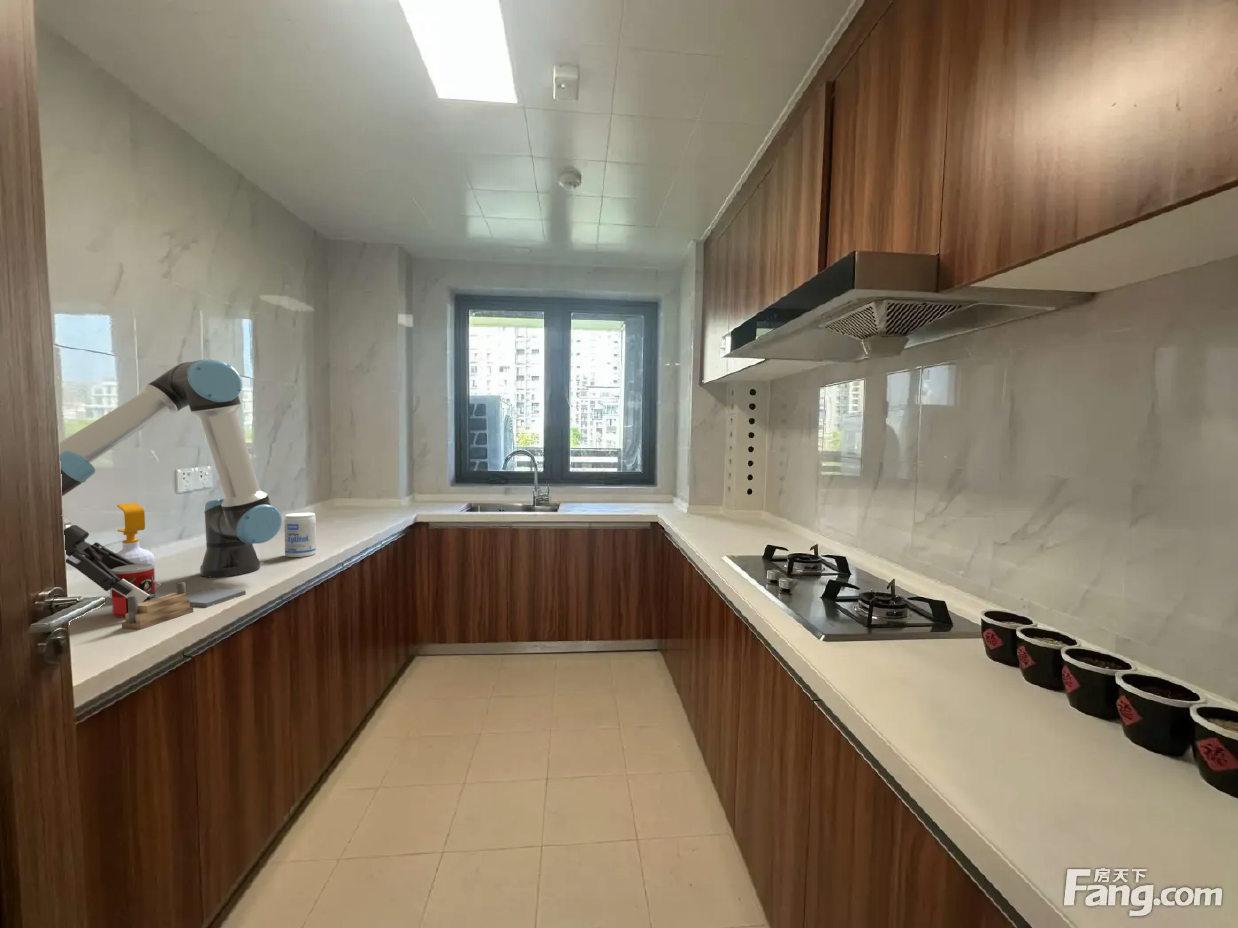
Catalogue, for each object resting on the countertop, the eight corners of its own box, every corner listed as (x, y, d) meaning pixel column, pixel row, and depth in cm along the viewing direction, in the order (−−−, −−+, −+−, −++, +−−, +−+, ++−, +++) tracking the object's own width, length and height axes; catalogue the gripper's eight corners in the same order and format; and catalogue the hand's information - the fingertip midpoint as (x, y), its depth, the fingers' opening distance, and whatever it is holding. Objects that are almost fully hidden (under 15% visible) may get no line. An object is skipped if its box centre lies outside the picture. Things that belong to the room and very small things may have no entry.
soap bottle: (145, 588, 148) (141, 500, 146) (162, 592, 144) (158, 502, 142) (103, 597, 140) (98, 504, 138) (120, 602, 136) (115, 506, 134)
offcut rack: (177, 610, 130) (175, 581, 129) (194, 611, 129) (192, 582, 128) (120, 628, 118) (119, 596, 117) (139, 629, 117) (137, 598, 116)
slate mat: (211, 591, 145) (211, 588, 145) (245, 594, 143) (245, 590, 143) (170, 604, 134) (170, 600, 134) (207, 606, 132) (206, 603, 132)
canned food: (130, 618, 124) (128, 572, 123) (103, 616, 125) (101, 570, 125) (164, 608, 131) (162, 564, 131) (138, 606, 133) (136, 562, 132)
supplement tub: (286, 559, 183) (284, 517, 182) (284, 554, 191) (282, 513, 190) (318, 555, 188) (316, 514, 188) (315, 550, 196) (313, 511, 195)
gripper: (62, 540, 129) (149, 594, 138) (16, 558, 110) (121, 620, 119) (90, 517, 132) (174, 571, 140) (50, 531, 112) (151, 593, 121)
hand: (150, 594), depth 129 cm, fingers open, 10 cm apart
